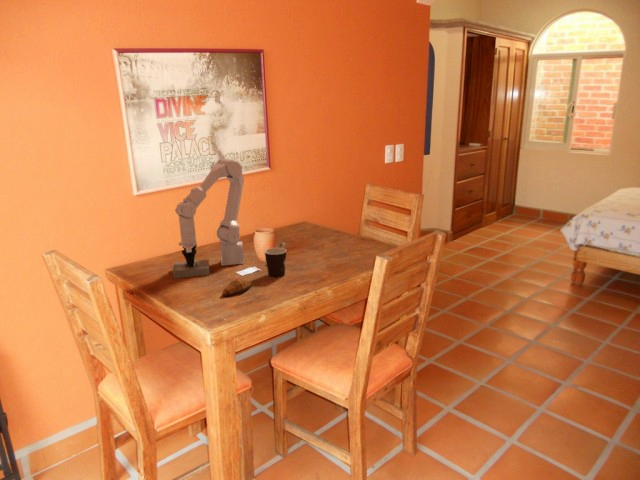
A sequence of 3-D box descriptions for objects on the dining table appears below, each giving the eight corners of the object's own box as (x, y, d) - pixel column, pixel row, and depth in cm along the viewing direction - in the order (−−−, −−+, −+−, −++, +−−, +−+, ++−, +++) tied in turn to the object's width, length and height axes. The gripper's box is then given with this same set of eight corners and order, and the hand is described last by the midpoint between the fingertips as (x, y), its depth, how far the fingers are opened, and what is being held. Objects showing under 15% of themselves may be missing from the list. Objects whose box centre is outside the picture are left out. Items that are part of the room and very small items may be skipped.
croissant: (229, 300, 169) (228, 286, 168) (217, 295, 173) (216, 282, 172) (258, 288, 179) (257, 275, 178) (245, 284, 183) (245, 272, 182)
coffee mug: (278, 280, 186) (277, 255, 183) (261, 276, 190) (259, 252, 188) (296, 271, 195) (295, 247, 193) (279, 267, 200) (277, 244, 197)
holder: (209, 266, 203) (208, 259, 202) (209, 274, 193) (209, 267, 192) (174, 269, 200) (173, 262, 199) (173, 278, 190) (172, 271, 189)
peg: (195, 270, 199) (194, 256, 197) (195, 273, 196) (194, 259, 194) (187, 271, 198) (186, 257, 196) (187, 273, 195) (186, 259, 193)
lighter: (272, 264, 204) (271, 246, 202) (270, 263, 206) (269, 245, 203) (286, 260, 209) (285, 242, 207) (283, 259, 210) (282, 241, 208)
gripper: (178, 228, 198) (181, 259, 202) (176, 237, 184) (180, 271, 188) (195, 226, 199) (198, 258, 203) (195, 236, 186) (198, 269, 190)
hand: (191, 264), depth 196 cm, fingers open, 6 cm apart
